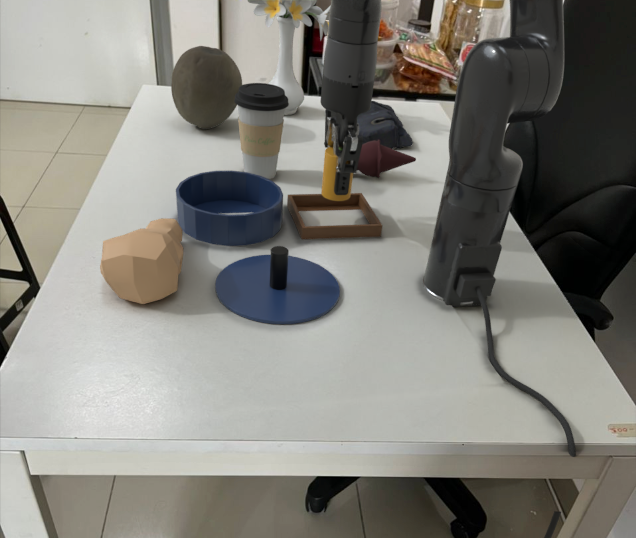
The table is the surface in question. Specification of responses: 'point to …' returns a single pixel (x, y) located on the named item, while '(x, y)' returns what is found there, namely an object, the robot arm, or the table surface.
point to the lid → (277, 288)
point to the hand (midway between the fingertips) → (336, 186)
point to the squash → (144, 261)
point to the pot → (229, 207)
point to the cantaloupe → (205, 86)
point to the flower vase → (290, 40)
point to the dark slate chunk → (383, 127)
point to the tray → (323, 204)
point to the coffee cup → (260, 126)
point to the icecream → (380, 159)
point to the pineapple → (332, 177)
